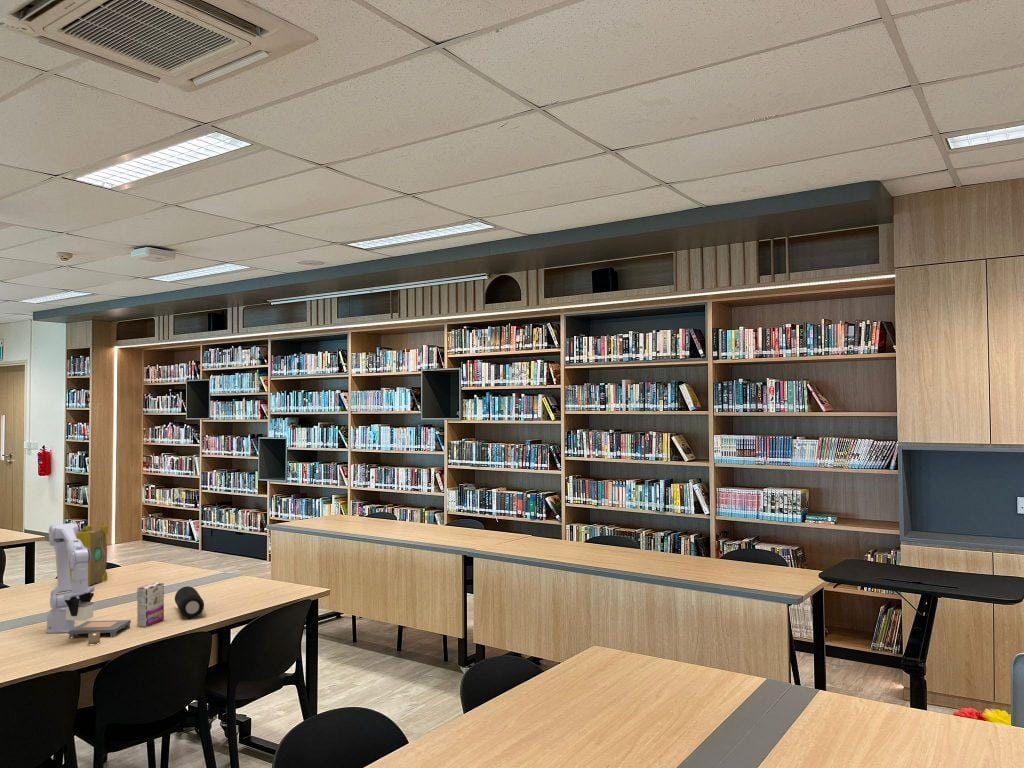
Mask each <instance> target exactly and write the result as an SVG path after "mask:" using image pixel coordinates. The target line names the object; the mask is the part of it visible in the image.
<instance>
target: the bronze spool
mask: <svg viewBox="0 0 1024 768" xmlns="http://www.w3.org/2000/svg"><path fill="white" fill-rule="evenodd" d="M87 637H88V642H87V643H88V644H97V643H99V642H100V643H101V633H100V632H92V633H87ZM100 643H99V644H100ZM88 644H87V645H88ZM97 645H98V644H97Z"/></svg>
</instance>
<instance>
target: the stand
mask: <svg viewBox="0 0 1024 768" xmlns="http://www.w3.org/2000/svg"><path fill="white" fill-rule="evenodd" d="M131 623H132V619H117V620H85V621H84V622H82V623H81V624H78V625H76V626H77V627H75V628H73V629H71V630H69V632H68V634H69V637H68V638H69V639H72V638H71V637H75V636H77V635H76V634H89V633H92V632H100V634H106V633H107V634H108V633H110V635H109V636H115V635H116V636H117V632H118V631H119V630H121V629H123V628H125V629H129V628H128V627H130V628H131ZM116 636H115V637H116ZM75 638H76V637H75Z"/></svg>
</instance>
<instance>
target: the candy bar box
mask: <svg viewBox="0 0 1024 768" xmlns="http://www.w3.org/2000/svg"><path fill="white" fill-rule="evenodd" d="M164 590H165V587H164V582H160V581H155V582H152V583H148V584H145V585H143V586H140V587H137V589H136V591H137V593H136V595H137V597H136V599H137V609H136V610H137V616H136V617H137V619H136V621H137V627H138V626H145V627H144V628H148V627H150V625H151V626H153V625H155V624H157V622H158V623H160V622H162V621H164V620H165V614H164V613H165V603H164V602H165V601H164V600H165V594H164V592H165V591H164ZM161 620H162V621H161ZM159 621H160V622H159ZM152 624H153V625H152ZM147 626H148V627H147Z"/></svg>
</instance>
